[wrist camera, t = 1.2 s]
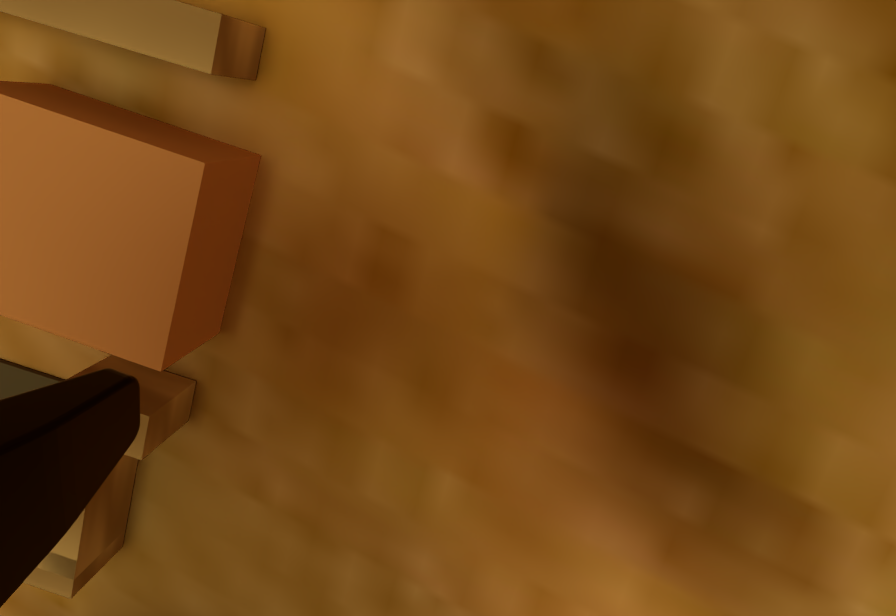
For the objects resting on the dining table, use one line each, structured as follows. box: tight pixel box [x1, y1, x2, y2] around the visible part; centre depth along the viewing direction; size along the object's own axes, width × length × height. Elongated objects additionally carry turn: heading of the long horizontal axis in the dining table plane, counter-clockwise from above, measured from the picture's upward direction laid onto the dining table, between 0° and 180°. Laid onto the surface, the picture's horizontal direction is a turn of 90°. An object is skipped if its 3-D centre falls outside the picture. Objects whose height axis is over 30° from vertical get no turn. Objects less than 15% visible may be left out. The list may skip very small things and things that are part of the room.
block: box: [0, 81, 261, 372], centre depth 21 cm, size 6×7×4 cm
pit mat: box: [0, 359, 64, 400], centre depth 26 cm, size 4×7×1 cm, turn 74°
